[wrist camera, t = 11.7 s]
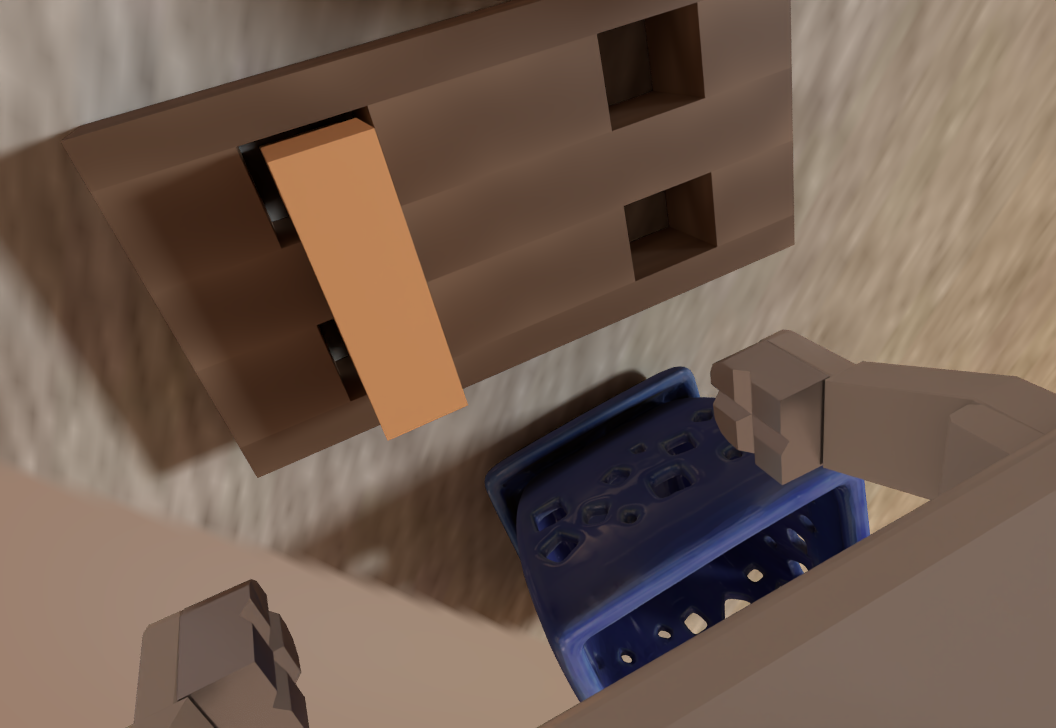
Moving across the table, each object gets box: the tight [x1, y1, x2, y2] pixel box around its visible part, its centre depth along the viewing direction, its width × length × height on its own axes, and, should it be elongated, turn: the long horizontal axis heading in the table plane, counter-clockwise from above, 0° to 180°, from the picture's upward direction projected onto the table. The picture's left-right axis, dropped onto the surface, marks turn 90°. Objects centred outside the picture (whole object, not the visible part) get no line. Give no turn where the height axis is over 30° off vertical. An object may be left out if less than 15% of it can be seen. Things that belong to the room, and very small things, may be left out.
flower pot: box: [485, 367, 870, 702], centre depth 31 cm, size 13×13×12 cm
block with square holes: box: [60, 0, 794, 478], centre depth 25 cm, size 12×24×4 cm, turn 104°
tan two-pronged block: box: [259, 118, 468, 440], centre depth 22 cm, size 9×3×7 cm, turn 14°
